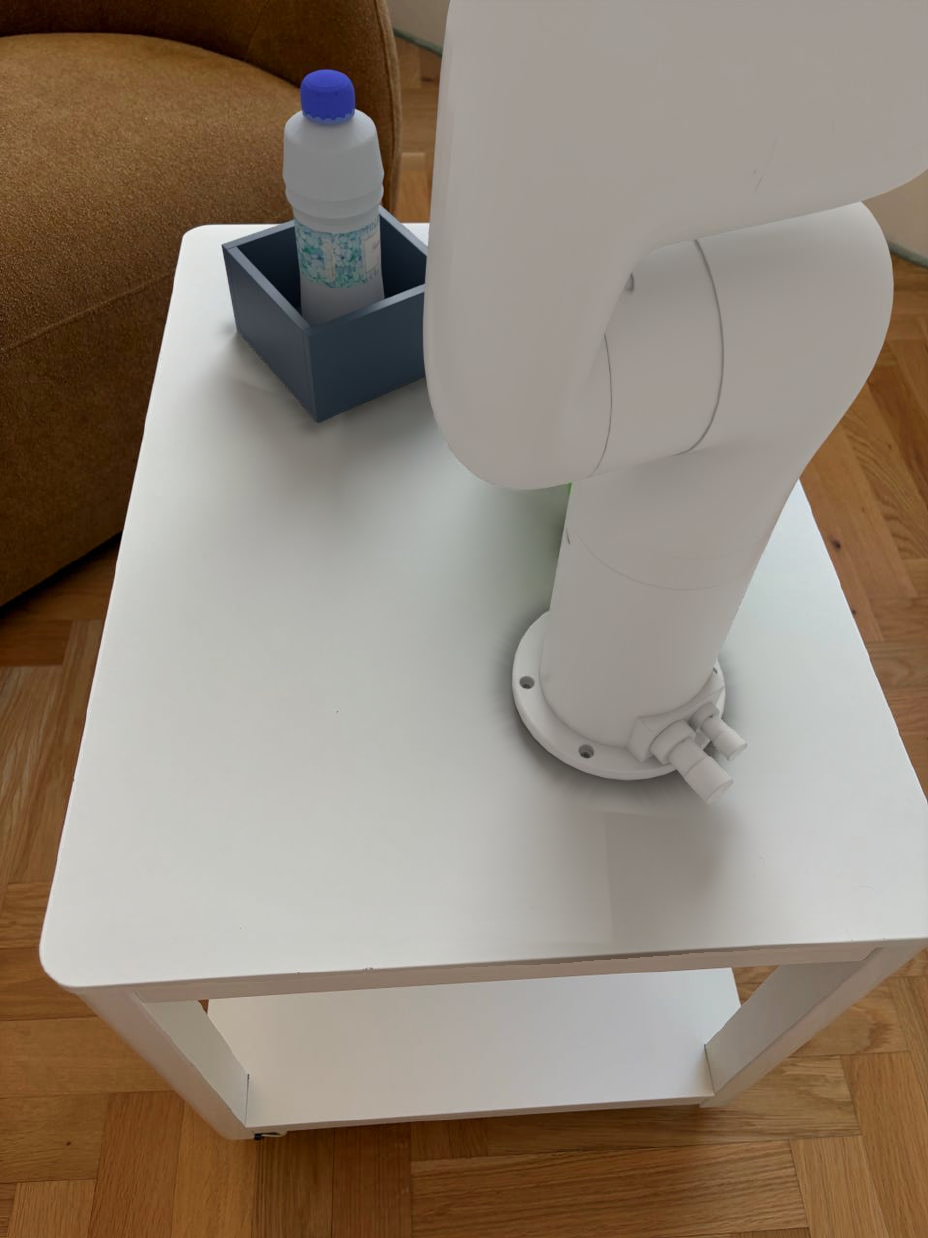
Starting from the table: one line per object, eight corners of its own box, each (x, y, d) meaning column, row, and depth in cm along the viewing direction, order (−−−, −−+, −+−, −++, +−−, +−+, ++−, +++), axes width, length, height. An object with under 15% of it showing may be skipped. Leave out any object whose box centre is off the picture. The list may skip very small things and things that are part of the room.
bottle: (386, 370, 75) (376, 103, 59) (297, 366, 75) (263, 98, 59) (391, 314, 79) (384, 50, 63) (307, 311, 79) (278, 45, 63)
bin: (459, 362, 77) (462, 276, 71) (317, 422, 72) (308, 337, 66) (372, 279, 83) (368, 193, 77) (236, 330, 78) (220, 244, 72)
